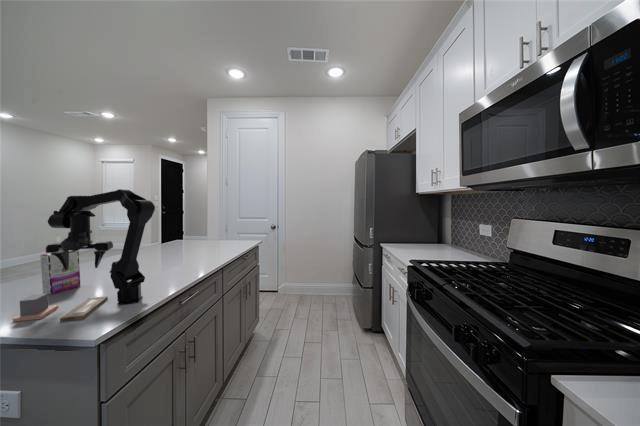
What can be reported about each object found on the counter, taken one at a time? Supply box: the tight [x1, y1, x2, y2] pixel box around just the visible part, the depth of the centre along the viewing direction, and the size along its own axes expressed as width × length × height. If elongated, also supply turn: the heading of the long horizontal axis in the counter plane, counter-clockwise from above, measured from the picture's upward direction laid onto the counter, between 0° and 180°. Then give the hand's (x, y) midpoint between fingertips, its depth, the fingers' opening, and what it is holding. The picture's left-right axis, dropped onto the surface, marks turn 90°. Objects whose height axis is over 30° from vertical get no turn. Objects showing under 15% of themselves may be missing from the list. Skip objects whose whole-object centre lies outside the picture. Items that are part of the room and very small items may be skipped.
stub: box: [12, 293, 59, 322], centre depth 88 cm, size 7×9×6 cm
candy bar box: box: [40, 250, 81, 295], centre depth 112 cm, size 11×5×16 cm, turn 168°
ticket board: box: [59, 296, 108, 323], centre depth 93 cm, size 6×18×1 cm, turn 19°
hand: (81, 268), depth 101 cm, fingers open, 9 cm apart
